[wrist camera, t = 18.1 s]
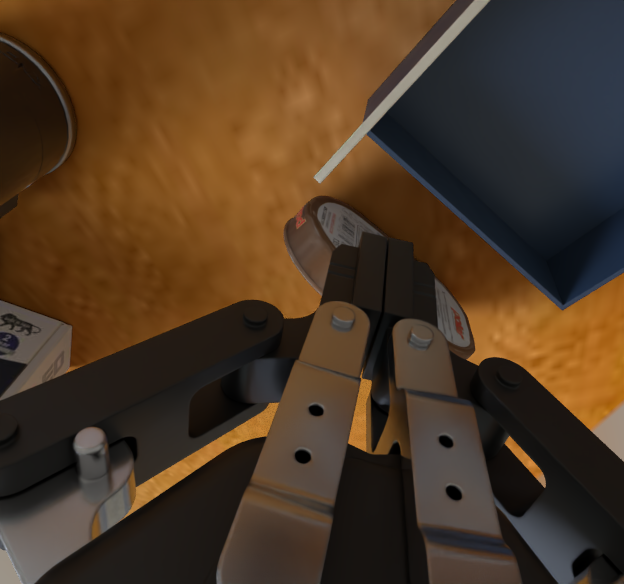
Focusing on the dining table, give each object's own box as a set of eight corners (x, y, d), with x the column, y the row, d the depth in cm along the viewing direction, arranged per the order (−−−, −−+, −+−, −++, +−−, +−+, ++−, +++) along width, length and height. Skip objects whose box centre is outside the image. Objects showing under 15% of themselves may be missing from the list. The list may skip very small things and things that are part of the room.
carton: (544, 263, 36) (562, 310, 31) (367, 100, 31) (361, 129, 27) (845, 56, 26) (929, 84, 22) (655, -225, 21) (715, -259, 17)
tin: (293, 200, 36) (266, 266, 29) (321, 168, 34) (300, 231, 27) (443, 321, 40) (451, 404, 33) (476, 299, 38) (490, 381, 31)
